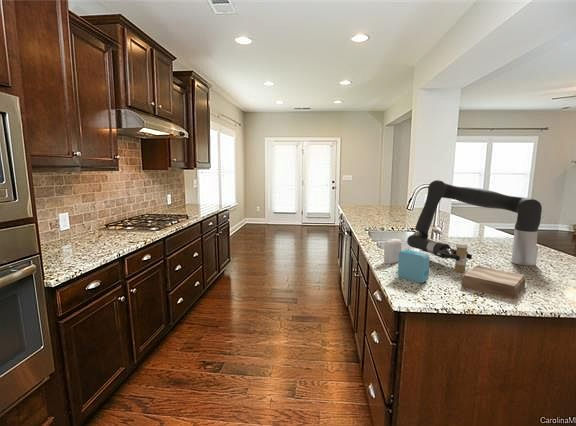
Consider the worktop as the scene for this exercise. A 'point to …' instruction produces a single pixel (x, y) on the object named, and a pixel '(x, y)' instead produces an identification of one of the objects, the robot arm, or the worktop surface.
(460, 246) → the sprinkles bottle
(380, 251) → the worktop surface
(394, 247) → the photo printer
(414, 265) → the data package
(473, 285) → the walnut riser
